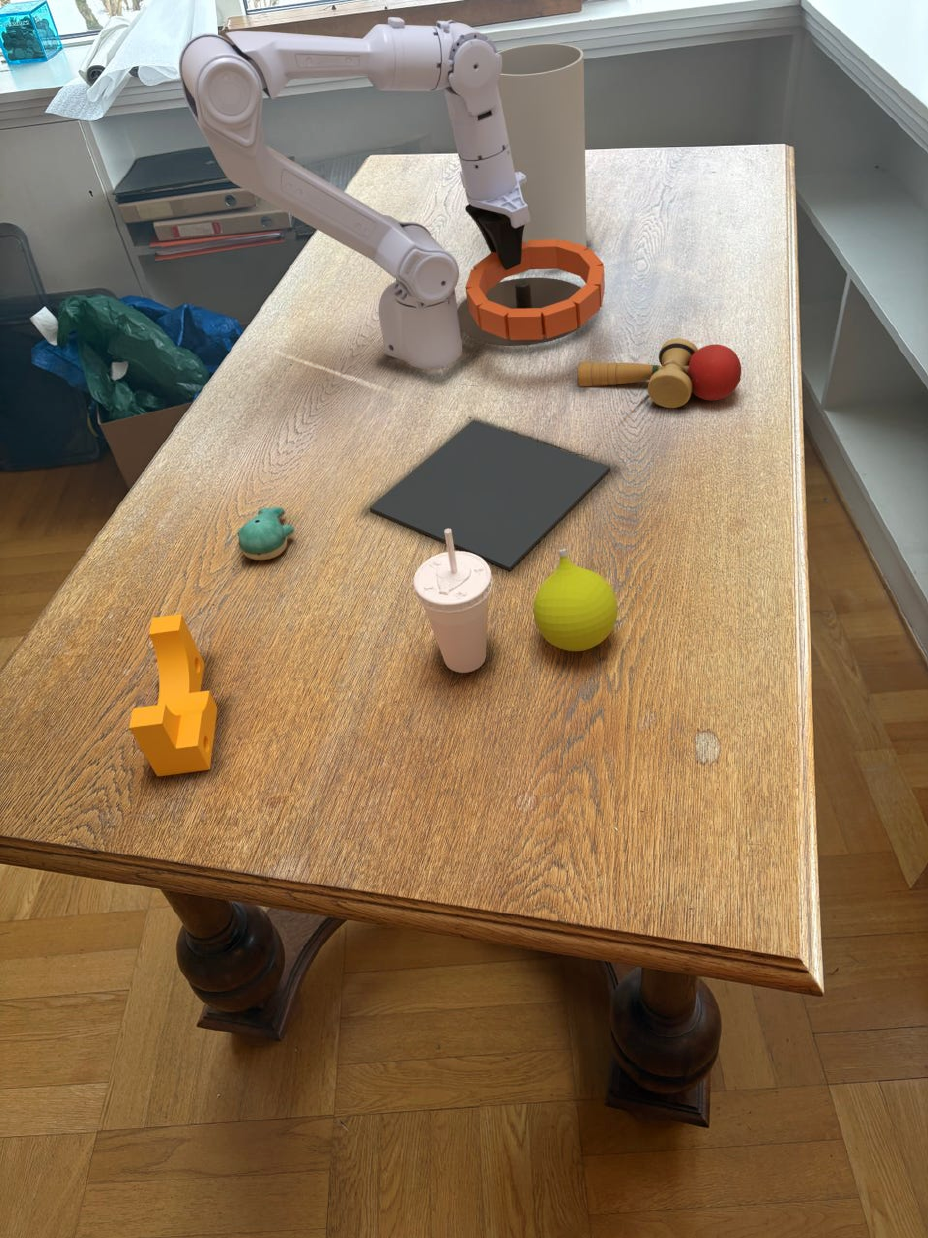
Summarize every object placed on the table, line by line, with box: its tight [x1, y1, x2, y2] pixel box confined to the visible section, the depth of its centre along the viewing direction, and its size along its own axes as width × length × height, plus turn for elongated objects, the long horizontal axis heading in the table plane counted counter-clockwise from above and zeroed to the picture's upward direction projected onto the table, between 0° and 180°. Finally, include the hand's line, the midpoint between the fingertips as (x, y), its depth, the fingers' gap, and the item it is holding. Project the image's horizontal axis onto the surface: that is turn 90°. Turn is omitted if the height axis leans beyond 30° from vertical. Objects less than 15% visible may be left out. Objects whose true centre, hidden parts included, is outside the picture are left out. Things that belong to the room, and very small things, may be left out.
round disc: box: [457, 277, 586, 347], centre depth 123 cm, size 18×18×4 cm
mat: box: [369, 419, 611, 572], centre depth 99 cm, size 18×18×1 cm
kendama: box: [577, 337, 742, 409], centre depth 107 cm, size 8×6×18 cm
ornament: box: [532, 536, 618, 652], centre depth 80 cm, size 7×7×10 cm
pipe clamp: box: [128, 613, 218, 777], centre depth 79 cm, size 12×4×6 cm, turn 5°
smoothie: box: [413, 529, 494, 674], centre depth 78 cm, size 6×6×14 cm
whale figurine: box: [237, 506, 295, 561], centre depth 96 cm, size 6×7×4 cm
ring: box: [465, 239, 606, 340], centre depth 110 cm, size 16×16×3 cm
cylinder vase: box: [497, 42, 588, 247], centre depth 127 cm, size 12×12×25 cm
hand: (508, 261), depth 114 cm, fingers closed on ring, 2 cm apart
